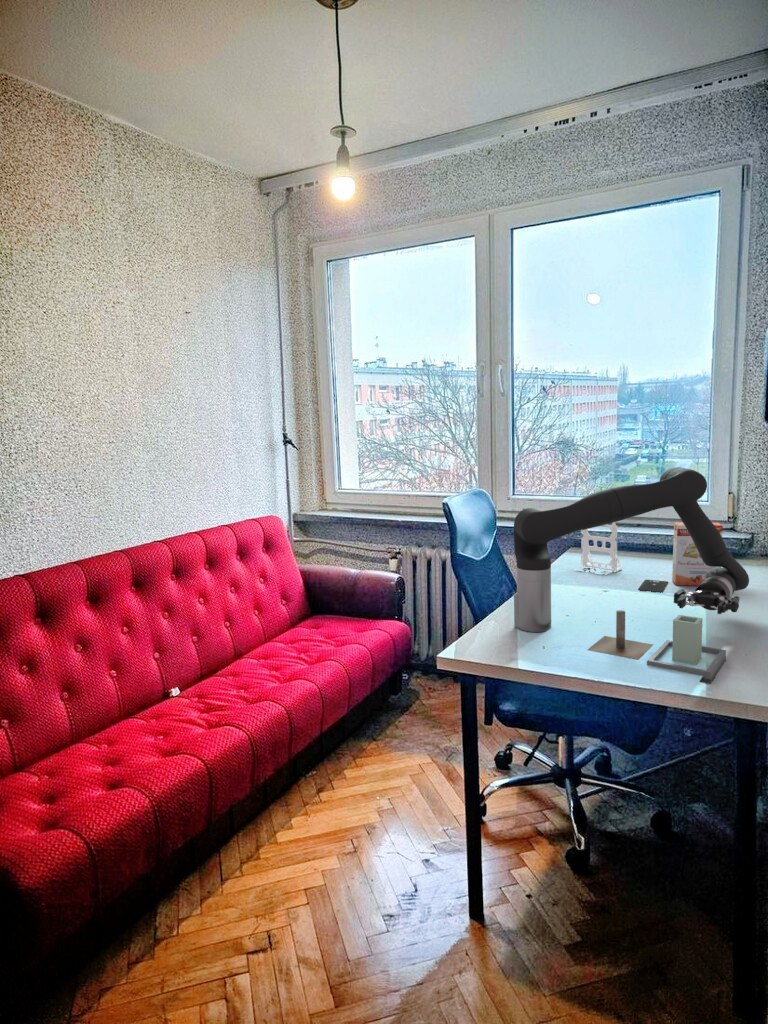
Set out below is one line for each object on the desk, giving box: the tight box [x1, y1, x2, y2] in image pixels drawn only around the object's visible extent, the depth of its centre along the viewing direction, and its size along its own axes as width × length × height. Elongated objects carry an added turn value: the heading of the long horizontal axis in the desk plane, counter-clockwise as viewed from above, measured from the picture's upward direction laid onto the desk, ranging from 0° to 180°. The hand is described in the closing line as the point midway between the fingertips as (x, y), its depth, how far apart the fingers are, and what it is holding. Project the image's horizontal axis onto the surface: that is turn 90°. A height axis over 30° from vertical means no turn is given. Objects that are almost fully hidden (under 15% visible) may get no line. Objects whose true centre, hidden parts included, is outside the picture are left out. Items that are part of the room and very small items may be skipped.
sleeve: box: [671, 614, 703, 666], centre depth 142 cm, size 5×5×10 cm
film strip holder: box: [574, 522, 623, 576], centre depth 235 cm, size 14×14×20 cm
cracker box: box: [671, 522, 724, 586], centre depth 210 cm, size 14×6×21 cm, turn 76°
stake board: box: [587, 609, 654, 660], centre depth 151 cm, size 12×12×10 cm
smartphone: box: [637, 579, 669, 594], centre depth 210 cm, size 8×15×1 cm, turn 148°
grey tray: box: [646, 639, 727, 685], centre depth 143 cm, size 13×16×2 cm
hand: (699, 607), depth 151 cm, fingers open, 8 cm apart
